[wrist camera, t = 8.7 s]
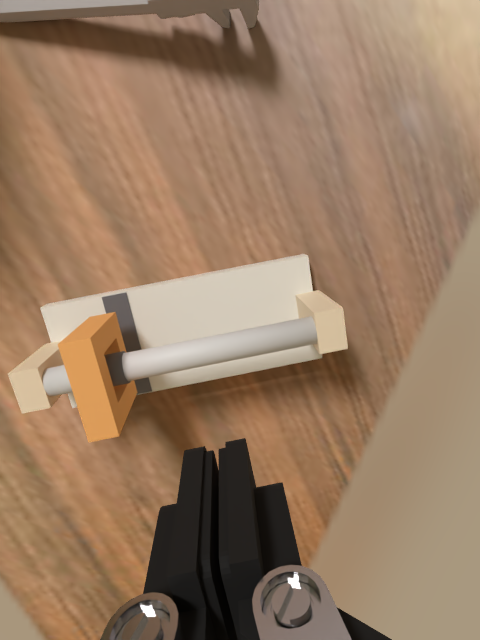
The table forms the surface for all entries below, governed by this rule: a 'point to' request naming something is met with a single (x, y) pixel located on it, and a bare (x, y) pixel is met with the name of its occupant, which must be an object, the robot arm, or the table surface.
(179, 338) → the rod stand
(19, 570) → the table surface
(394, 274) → the table surface
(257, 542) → the robot arm
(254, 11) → the caliper
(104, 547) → the table surface
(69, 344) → the collar
